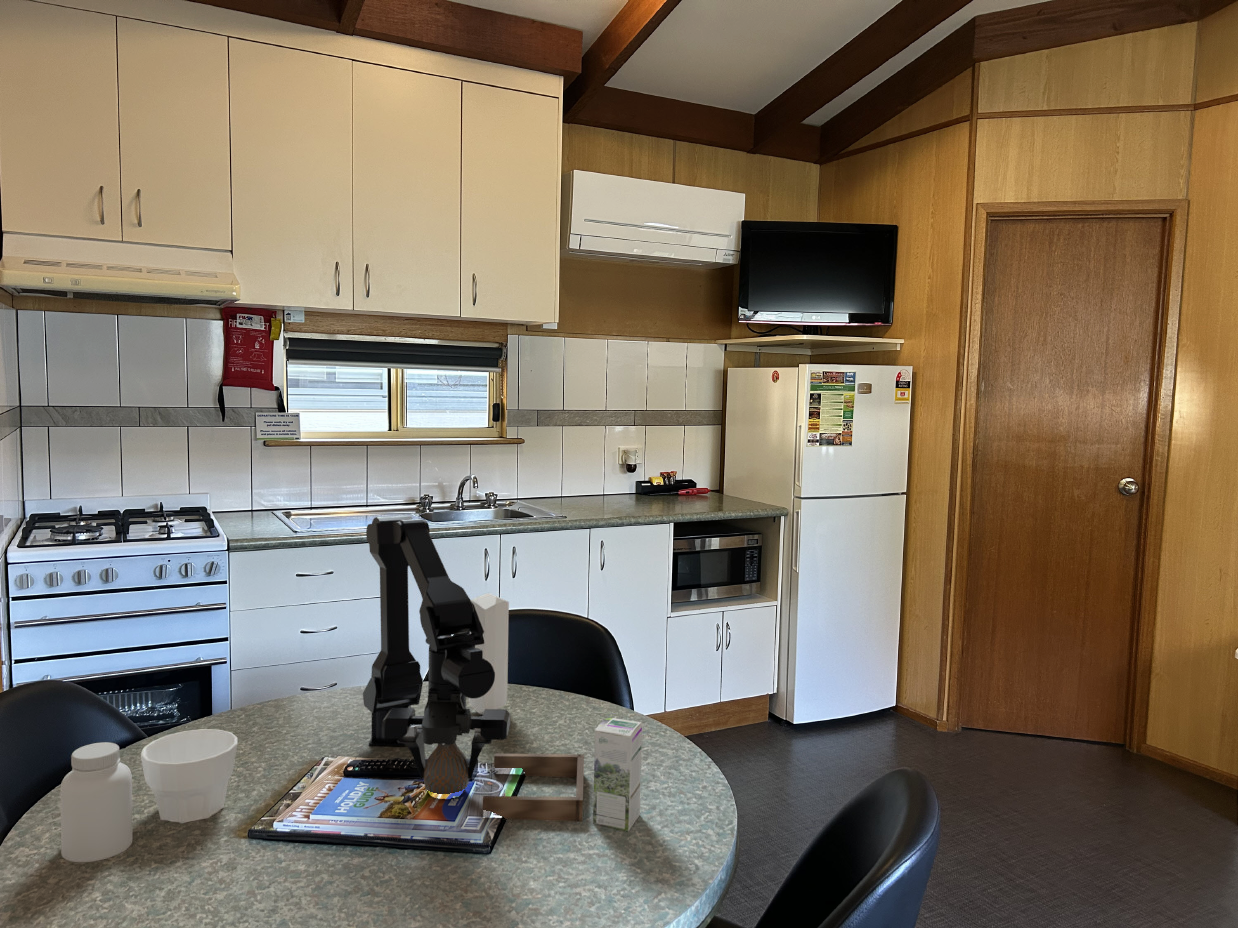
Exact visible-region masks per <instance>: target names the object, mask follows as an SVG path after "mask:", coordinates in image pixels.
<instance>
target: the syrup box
mask: <svg viewBox="0 0 1238 928" xmlns="http://www.w3.org/2000/svg"><path fill="white" fill-rule="evenodd" d="M593 744H594V749H593V750H594V753H593V757H594V758H593V789H592V790H593V794H592V795H593V797H592V798H593V799H592V800H593V802H592V805H593V806H592V824H593V825H598V826H602V827H607V828H612V829H616V830H621V831H626V832H629V831H630V830H631V828H632V827H633V826H634V824H635V822H636V821H637V819H638V818H639V817H640V816H641V815H640V814H641V783H642V782H641V779H642V774H641V773H642V755H643V754H642V751H643V722H641V721H640V722H639V721H635V720H628V719H621V718H615V717H605V718H604V719H603V720H602V721H601V722H600V723H599V724H598V725H597V727H596V728H595V729H594V741H593Z"/></svg>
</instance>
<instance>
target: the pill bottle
mask: <svg viewBox="0 0 1238 928" xmlns="http://www.w3.org/2000/svg"><path fill="white" fill-rule="evenodd" d="M70 758H71V761H70V762H71V768H72V769H71V771H70V772H68V773H67V774H66V775H65V776H64V778H63V779H62V781H61V784H60V790H59V791H60V794H59V795H60V798H59V799H60V843H61V844H60V846H61V848H60V849H61V850H60V851H61V853H60V854H61V857H62V858H63V859H65V860H66V861H69V862H73V863H91V862H96V861H97V862H98V861H101V860H105V859H109V858H111V857H112V858H113V857H115V856H117V855H119V854H122V852H124V851H126V850H127V849H128V848H129V847H131V845H132V843H133V775H132V772H131V769H130V768H129V766H128V765H126V764H125V763H122V762H121V758H120V746H119V745H118V744H116V743H115V742H106V741H105V742H96V743H91V744H86V745H84V746H80V747H79V748H77V749H75V750H74V751H73V752H72V754H71V756H70Z"/></svg>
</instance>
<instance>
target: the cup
mask: <svg viewBox="0 0 1238 928" xmlns="http://www.w3.org/2000/svg"><path fill="white" fill-rule="evenodd" d="M238 740H239V738H238V737H237V736H236V735H235V734H233V732H231V731H227V730H222V729H211V728H209V729H208V728H201V729H192V730H191V729H190V730H184V731H179V732H176V733H175V732H174V733H171V734H166V735H164V736H162V737H160V738H158V739H157V738H156V739H154V740H152V741H151V742H150V743H148V744H147V745H145V746H144V747H143V748H142V750H141V753H140V759H141V766H142V770H143V775H144V781H145V783H146V785H147V786H148V787H149V788H150V789H151V792H153V794H154V798H155V802H156V807H157V811H158V815H159V819H160V821H168V822H172V823H173V822H174V823H179V824H185V823H188V822H194V821H199V820H204V819H209V818H210V817H211V816H213V815H215V814H216V813H218V812H219V811H220V810H222V809H224V807H225V802H226V799H227V798H226V795H227V791H228V786H229V780H230V778H231V777H232V774H233V772H234V770H235V769H234V768H235V762H236V761H235V760H236V756H237V749H238Z"/></svg>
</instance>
